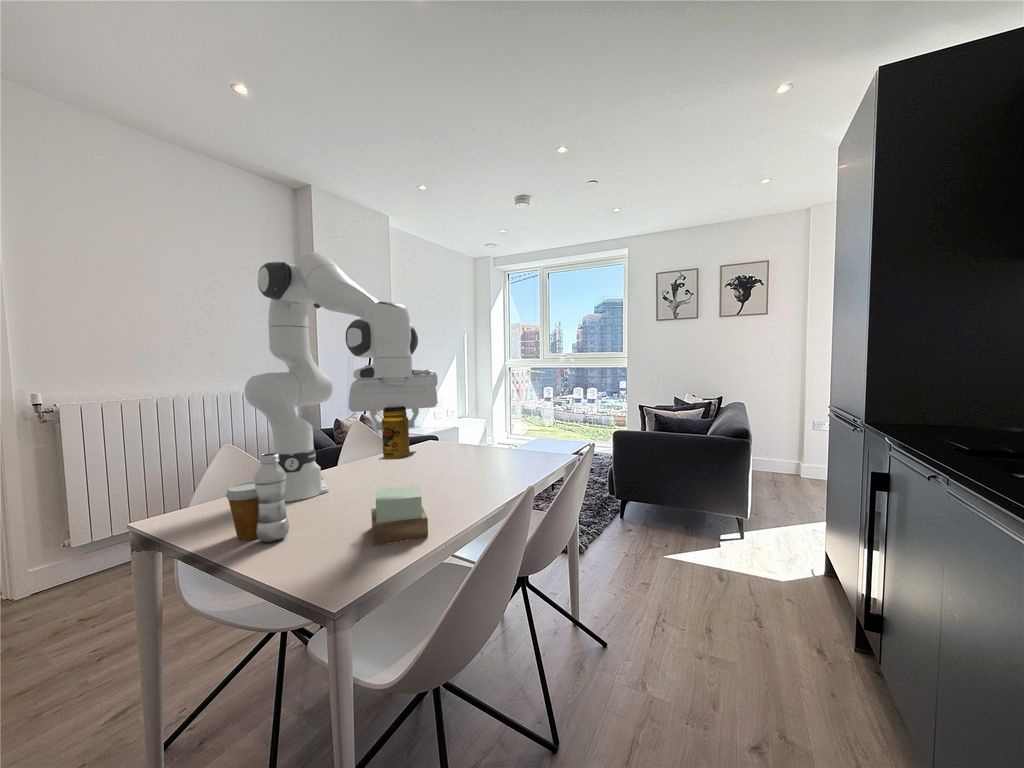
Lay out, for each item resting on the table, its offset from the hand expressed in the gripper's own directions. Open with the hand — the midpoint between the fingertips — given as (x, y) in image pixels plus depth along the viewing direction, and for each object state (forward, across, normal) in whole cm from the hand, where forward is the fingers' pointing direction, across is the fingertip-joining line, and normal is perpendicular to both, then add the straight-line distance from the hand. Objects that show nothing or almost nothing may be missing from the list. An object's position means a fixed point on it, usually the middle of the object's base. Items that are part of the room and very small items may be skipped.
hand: (395, 428), depth 99 cm
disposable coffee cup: (+25, +33, -12) cm, 43 cm away
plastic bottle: (+25, +28, -7) cm, 38 cm away
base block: (+25, 0, 0) cm, 25 cm away
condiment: (+7, 0, 0) cm, 7 cm away
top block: (+20, 0, 0) cm, 20 cm away
